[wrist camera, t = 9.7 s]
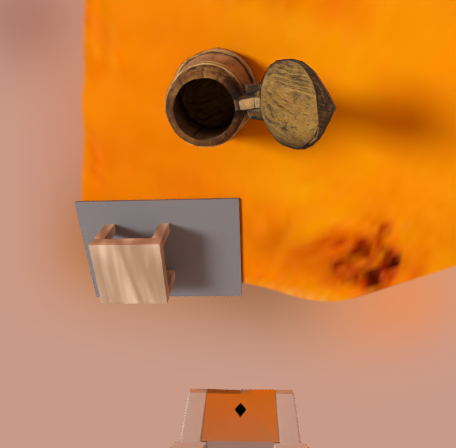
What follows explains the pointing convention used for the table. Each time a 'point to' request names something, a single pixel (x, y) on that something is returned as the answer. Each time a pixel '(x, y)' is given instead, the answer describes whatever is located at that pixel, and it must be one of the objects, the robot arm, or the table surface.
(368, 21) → the table surface
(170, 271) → the stool
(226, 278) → the mat
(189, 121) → the wooden mug
